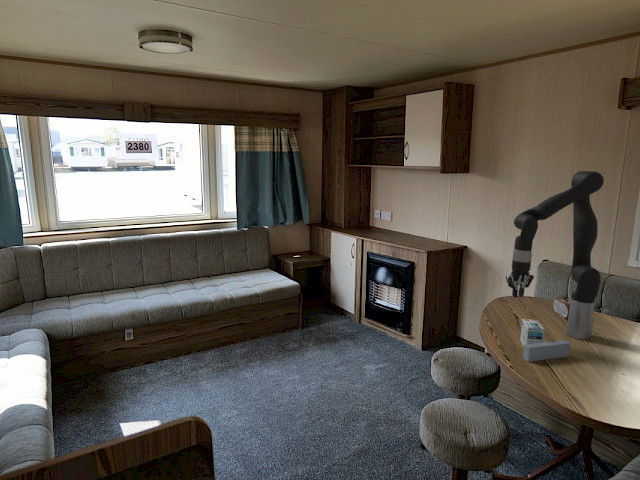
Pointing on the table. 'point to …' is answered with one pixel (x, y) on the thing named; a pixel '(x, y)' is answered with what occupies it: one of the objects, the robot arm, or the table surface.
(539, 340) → the light bulb box
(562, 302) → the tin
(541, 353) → the slate prism bar
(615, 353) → the table surface
